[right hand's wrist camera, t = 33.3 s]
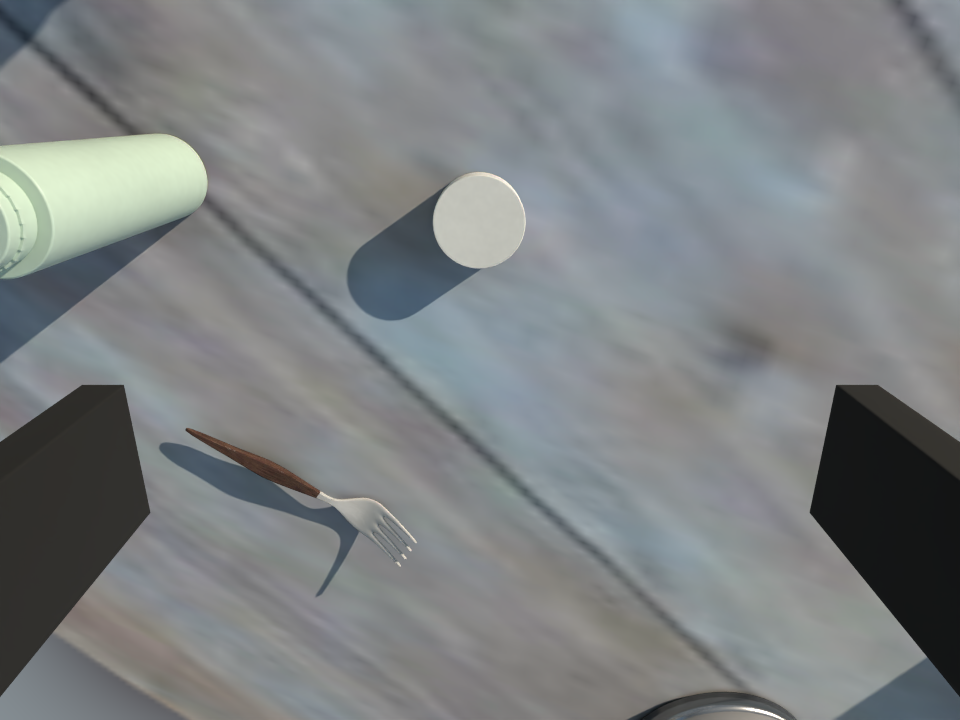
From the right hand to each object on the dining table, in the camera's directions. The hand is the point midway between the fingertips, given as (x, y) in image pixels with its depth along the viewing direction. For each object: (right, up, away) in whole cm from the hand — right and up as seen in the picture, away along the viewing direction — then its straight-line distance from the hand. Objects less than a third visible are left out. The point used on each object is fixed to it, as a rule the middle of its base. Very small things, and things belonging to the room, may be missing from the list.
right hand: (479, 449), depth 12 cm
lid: (0, +9, +23) cm, 25 cm away
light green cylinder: (-17, +12, +24) cm, 32 cm away
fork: (-11, -6, +31) cm, 33 cm away
